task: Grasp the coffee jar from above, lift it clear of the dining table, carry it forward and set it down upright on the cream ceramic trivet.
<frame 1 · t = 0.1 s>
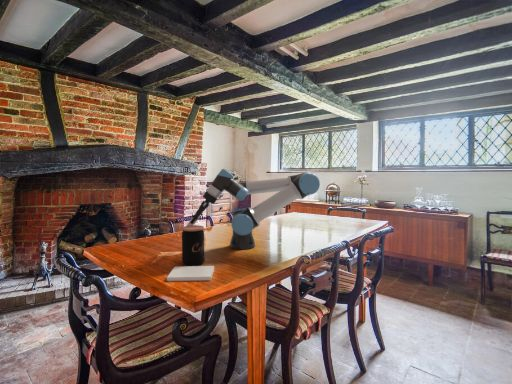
hand: (189, 225, 160), 15 cm above the table, tool tilted 35°, fingers open, 13 cm apart
coffee jar: (193, 263, 143), on the table
trivet: (191, 274, 127), on the table
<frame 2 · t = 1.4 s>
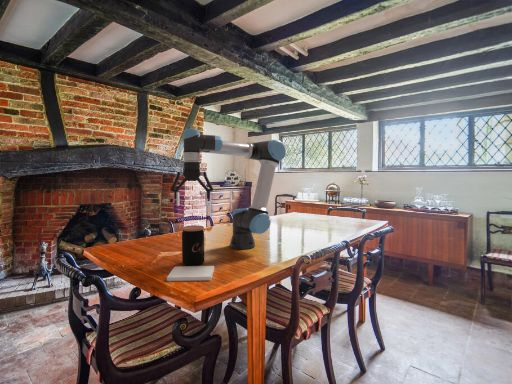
hand: (192, 205, 141), 28 cm above the table, tool pointing down, fingers open, 13 cm apart
nothing on the table moved.
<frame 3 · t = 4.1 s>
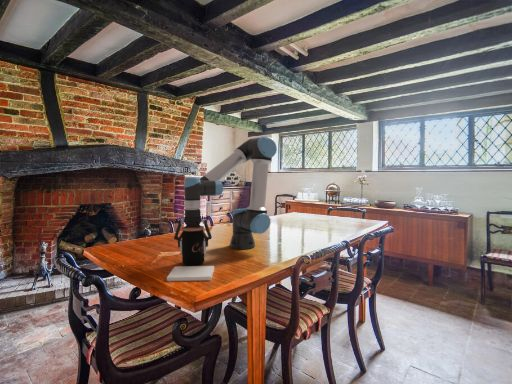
hand: (193, 253, 142), 5 cm above the table, tool pointing down, fingers closed on coffee jar, 11 cm apart
coffee jar: (193, 263, 143), on the table, touching gripper
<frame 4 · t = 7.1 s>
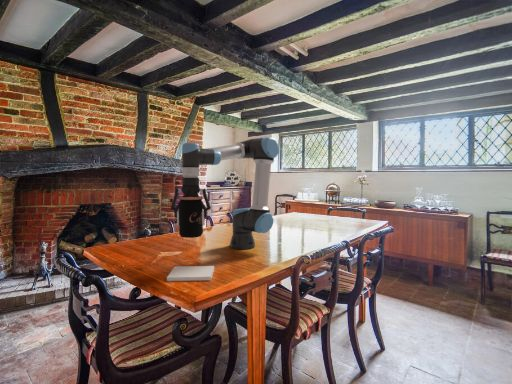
hand: (191, 225, 134), 20 cm above the table, tool pointing down, fingers closed on coffee jar, 11 cm apart
coffee jar: (191, 236, 134), point 15 cm above the table, touching gripper
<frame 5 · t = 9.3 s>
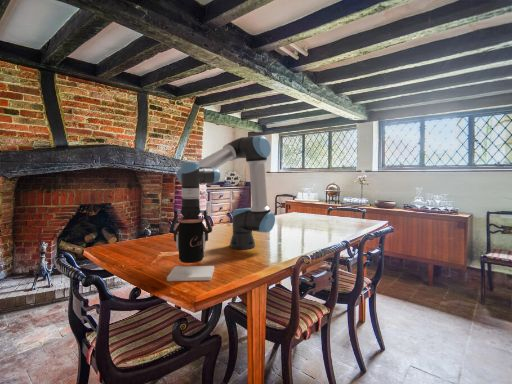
hand: (191, 248, 126), 12 cm above the table, tool pointing down, fingers closed on coffee jar, 11 cm apart
coffee jar: (191, 260, 126), point 6 cm above the table, touching gripper
when the fingers open (8 cm above the table, at t = 10.6 s): coffee jar drops 1 cm, resting on trivet.
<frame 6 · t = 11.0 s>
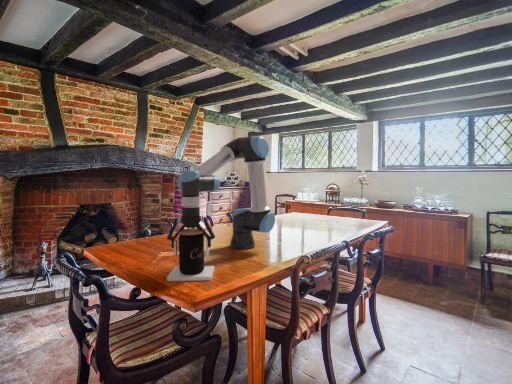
hand: (191, 255, 126), 9 cm above the table, tool pointing down, fingers open, 13 cm apart
coffee jar: (191, 271, 127), point 1 cm above the table, touching trivet
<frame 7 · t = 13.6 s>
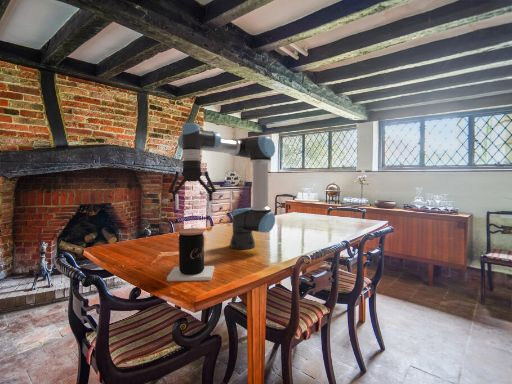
hand: (192, 209, 127), 29 cm above the table, tool pointing down, fingers open, 13 cm apart
nothing on the table moved.
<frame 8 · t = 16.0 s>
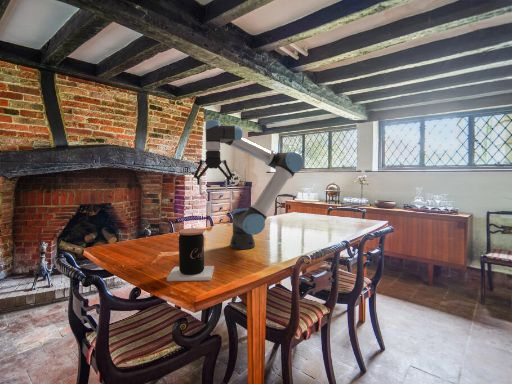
hand: (213, 191, 153), 35 cm above the table, tool pointing down, fingers open, 13 cm apart
nothing on the table moved.
at the end: coffee jar 0.1 cm off-centre on the trivet, point 1.3 cm above the trivet's base; coffee jar tilted 0°; the gripper is holding nothing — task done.
